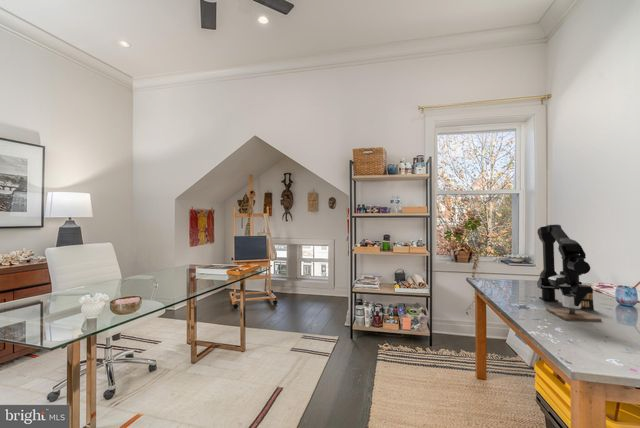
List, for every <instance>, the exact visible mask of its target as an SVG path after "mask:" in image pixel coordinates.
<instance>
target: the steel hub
mask: <svg viewBox="0 0 640 428" xmlns="http://www.w3.org/2000/svg"><path fill="white" fill-rule="evenodd" d="M561 297H562V299H561V300H562V301H561V302H562V306H563V307H565V308H567V309H569V308H574V309H579V308H581V303H580V305H579V306H575V303H574V296H573V294H562V295H561Z"/></svg>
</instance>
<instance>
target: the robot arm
mask: <svg viewBox="0 0 640 428" xmlns="http://www.w3.org/2000/svg"><path fill="white" fill-rule="evenodd" d="M537 236H538V239H539V240H540V241H541V244H542V257H543V259H542V261H543V262H542V263H543V270H542V271H541V272H540V273H539V278H538V280H537V282H536V285H537V288H539V289H540V290H541V296H538V298H539V299H541V300H542V301H545V302H559V300H558V299H557V298H556V290H558V291H559V290H560V292H561V293H562V294H571V293H572V294H573V296H574V303H575V306H579V305H580V303H581V301H582V300H583V298H584V297H585V296H586V295H587V294H589V293H593V294H594V288H593V287H592V286H591V287H590V285H587V284H583V283H582V281H580V276H582V275H585V274H588V273H590V270H591V265H590V263H589V262H587V261H586V260H585V259H586V258H587V257H586V252H585V250H584V249H583V247H582V245H581V244H580V243H579V242H578V241H576V240H574V239H572V238H570V237H569V235H568V234H567V233H566V232H565V231H564V230H563V227H562V225H560V224H558V223H557V224H553V223H552V224H547V225H545V226H540V227H539V228H537ZM555 242H556V243H558V248H557V249H558V252H559V253H560V255H561V260H562V261H561V262H562V270H560V271H559V274H558V273H557V272H556V271H555ZM580 284H581V285H580Z"/></svg>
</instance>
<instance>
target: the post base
mask: <svg viewBox="0 0 640 428" xmlns="http://www.w3.org/2000/svg"><path fill="white" fill-rule="evenodd" d="M545 309H546V310H545V311H546V312H549V313H551V314H553V315H554V316H556V317H558V318H559V319H561V320H564V321H570V322H573V321H576V322H596V323H597V322H599V323H600V322H602V321H603V320H602V319H601V318H600V317H597V316H596V315H593V314H592V313H589V312H586V311H584V310H583V309H574V308H558V307H557V308H555V307H553V308H550V307H546V308H545Z"/></svg>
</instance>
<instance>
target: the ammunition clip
mask: <svg viewBox="0 0 640 428" xmlns="http://www.w3.org/2000/svg"><path fill="white" fill-rule="evenodd" d="M579 285H582V284H579ZM589 286H590V287H592V285H591V284H589ZM571 294H572V293H571ZM579 309H580V310H588V311H595V307H594V292H593V293H589V294H587V295H586V296H585V297H584V298H583V300H582V301H581V308H579Z"/></svg>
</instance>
